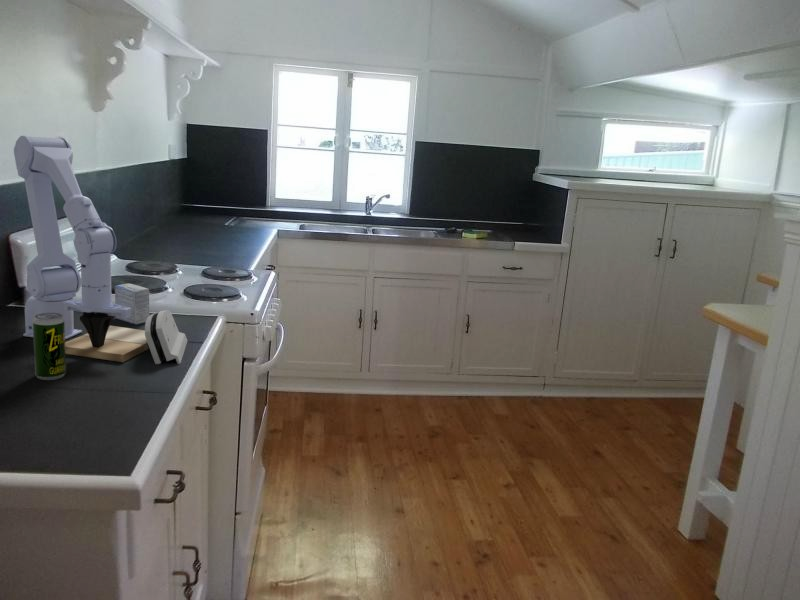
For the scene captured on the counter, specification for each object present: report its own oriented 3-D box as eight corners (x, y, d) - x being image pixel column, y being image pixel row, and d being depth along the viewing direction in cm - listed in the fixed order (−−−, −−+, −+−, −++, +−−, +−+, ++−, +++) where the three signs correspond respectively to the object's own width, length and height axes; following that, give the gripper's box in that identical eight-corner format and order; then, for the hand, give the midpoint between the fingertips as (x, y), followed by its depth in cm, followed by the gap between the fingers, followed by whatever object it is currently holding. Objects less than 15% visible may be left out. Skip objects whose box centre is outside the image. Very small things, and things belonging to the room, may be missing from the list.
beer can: (28, 377, 129) (25, 317, 127) (50, 369, 135) (48, 310, 132) (51, 382, 128) (48, 321, 125) (72, 374, 133) (70, 315, 130)
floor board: (82, 342, 152) (82, 335, 151) (106, 331, 160) (106, 325, 160) (144, 351, 149) (144, 344, 149) (165, 339, 158) (165, 333, 157)
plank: (58, 352, 144) (57, 345, 143) (81, 342, 151) (81, 335, 151) (123, 362, 141) (123, 354, 141) (143, 351, 149) (143, 344, 149)
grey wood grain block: (150, 322, 171) (150, 288, 169) (134, 325, 167) (134, 291, 165) (130, 315, 175) (129, 282, 173) (114, 318, 171) (114, 285, 169)
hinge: (180, 364, 143) (163, 321, 140) (157, 371, 143) (140, 328, 140) (187, 340, 159) (172, 301, 156) (167, 346, 158) (152, 307, 155)
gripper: (52, 284, 139) (55, 347, 142) (117, 292, 137) (118, 356, 140) (74, 278, 146) (76, 338, 149) (136, 285, 144) (137, 346, 147)
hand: (98, 346), depth 145 cm, fingers closed, pressing on plank
